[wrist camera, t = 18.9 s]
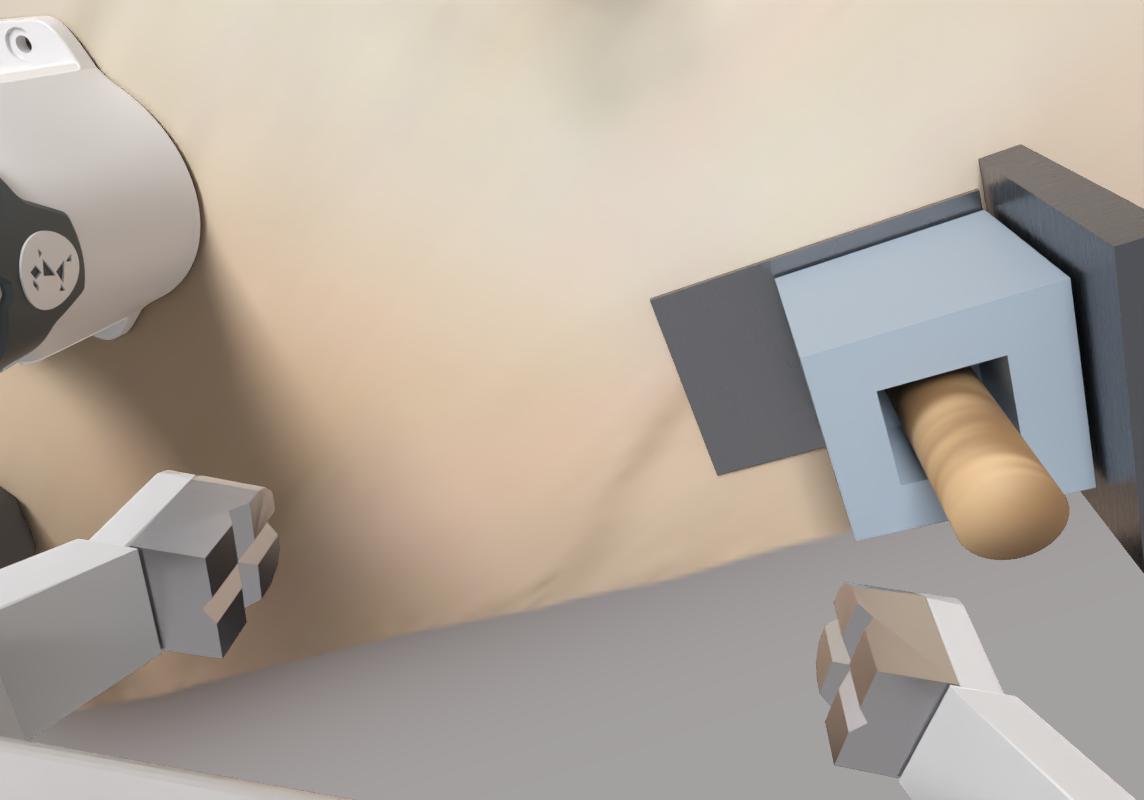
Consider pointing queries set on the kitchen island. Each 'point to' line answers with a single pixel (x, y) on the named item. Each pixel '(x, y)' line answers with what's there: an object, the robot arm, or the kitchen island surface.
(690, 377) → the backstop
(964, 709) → the robot arm
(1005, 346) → the socket block
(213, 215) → the kitchen island surface
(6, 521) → the liquor
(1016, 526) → the dowel
